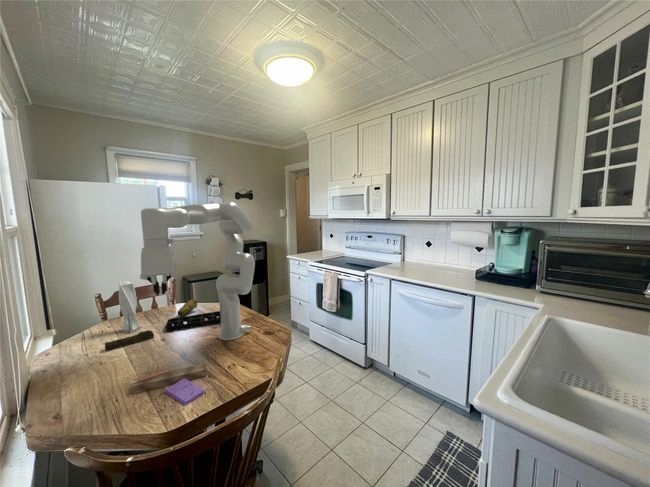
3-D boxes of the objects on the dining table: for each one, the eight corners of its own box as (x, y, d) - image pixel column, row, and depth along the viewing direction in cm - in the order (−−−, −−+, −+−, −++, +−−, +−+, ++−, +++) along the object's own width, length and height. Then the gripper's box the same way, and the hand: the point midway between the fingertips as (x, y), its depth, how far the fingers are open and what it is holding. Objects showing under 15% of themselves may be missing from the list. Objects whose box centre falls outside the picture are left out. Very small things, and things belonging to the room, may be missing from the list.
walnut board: (206, 368, 107) (205, 362, 106) (206, 375, 102) (205, 369, 102) (133, 385, 97) (133, 378, 97) (130, 393, 92) (129, 387, 92)
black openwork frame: (163, 326, 149) (163, 319, 149) (219, 313, 167) (219, 307, 166) (167, 337, 135) (166, 330, 135) (227, 322, 153) (227, 316, 152)
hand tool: (105, 352, 121) (104, 343, 120) (105, 349, 124) (104, 339, 123) (154, 340, 132) (153, 331, 132) (153, 337, 135) (152, 328, 135)
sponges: (185, 406, 87) (185, 401, 86) (165, 393, 93) (164, 388, 93) (205, 394, 92) (204, 389, 92) (184, 382, 99) (184, 377, 99)
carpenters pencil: (165, 372, 100) (165, 370, 100) (166, 373, 99) (166, 372, 99) (131, 383, 94) (131, 381, 94) (131, 384, 93) (131, 382, 93)
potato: (173, 315, 164) (172, 302, 163) (195, 309, 173) (194, 297, 173) (179, 318, 158) (178, 305, 157) (201, 312, 168) (200, 299, 167)
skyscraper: (116, 332, 141) (111, 280, 137) (129, 326, 149) (124, 277, 145) (131, 333, 140) (125, 281, 136) (143, 326, 148) (138, 277, 144)
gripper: (181, 241, 101) (185, 288, 103) (132, 243, 95) (137, 294, 97) (180, 243, 94) (184, 293, 96) (127, 246, 88) (132, 300, 90)
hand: (160, 293), depth 97 cm, fingers closed
